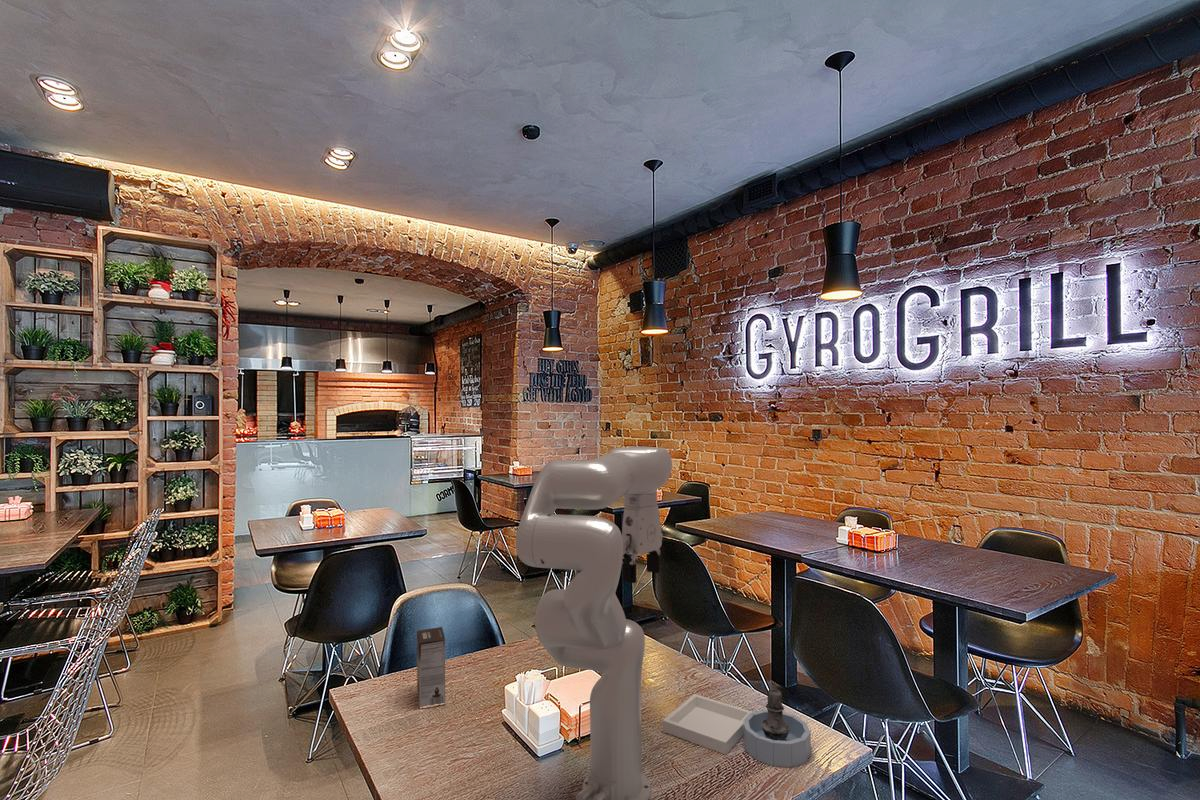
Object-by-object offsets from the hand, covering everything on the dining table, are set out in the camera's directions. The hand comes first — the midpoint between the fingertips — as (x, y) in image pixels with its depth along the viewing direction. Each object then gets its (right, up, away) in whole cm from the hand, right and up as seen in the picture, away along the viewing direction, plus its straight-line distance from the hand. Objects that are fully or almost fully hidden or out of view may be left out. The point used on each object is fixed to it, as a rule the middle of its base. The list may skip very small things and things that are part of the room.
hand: (641, 576), depth 130 cm
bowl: (+27, -33, -10) cm, 44 cm away
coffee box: (-52, -35, +13) cm, 63 cm away
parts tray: (+15, -33, -2) cm, 36 cm away
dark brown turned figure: (+27, -32, -10) cm, 43 cm away
